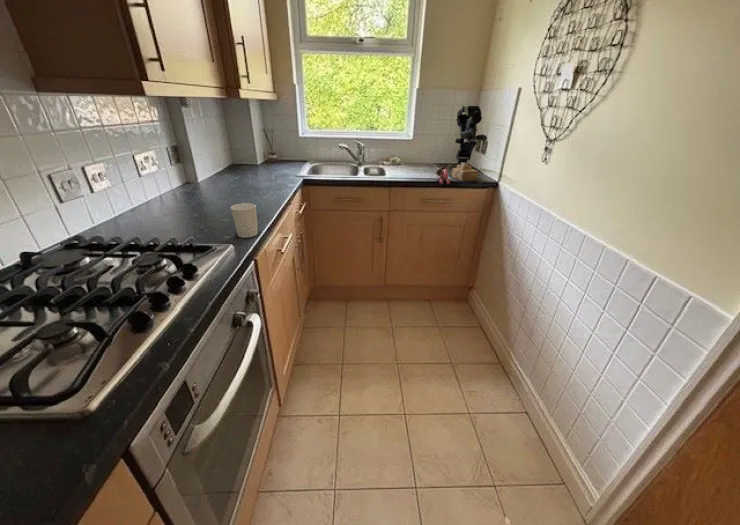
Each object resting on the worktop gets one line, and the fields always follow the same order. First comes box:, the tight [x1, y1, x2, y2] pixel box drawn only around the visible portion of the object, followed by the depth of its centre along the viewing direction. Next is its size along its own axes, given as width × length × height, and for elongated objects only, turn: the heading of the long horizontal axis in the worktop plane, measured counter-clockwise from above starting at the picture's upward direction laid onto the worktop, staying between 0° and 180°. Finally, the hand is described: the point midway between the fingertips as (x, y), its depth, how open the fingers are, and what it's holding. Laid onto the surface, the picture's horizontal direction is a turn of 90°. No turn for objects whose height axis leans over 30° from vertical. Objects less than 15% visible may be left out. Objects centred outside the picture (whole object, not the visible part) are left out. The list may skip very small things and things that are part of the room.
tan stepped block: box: [451, 164, 479, 182], centre depth 196 cm, size 12×10×7 cm
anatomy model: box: [434, 161, 454, 185], centre depth 186 cm, size 10×14×15 cm
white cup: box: [230, 202, 259, 239], centre depth 113 cm, size 8×8×10 cm
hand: (469, 153), depth 204 cm, fingers closed
